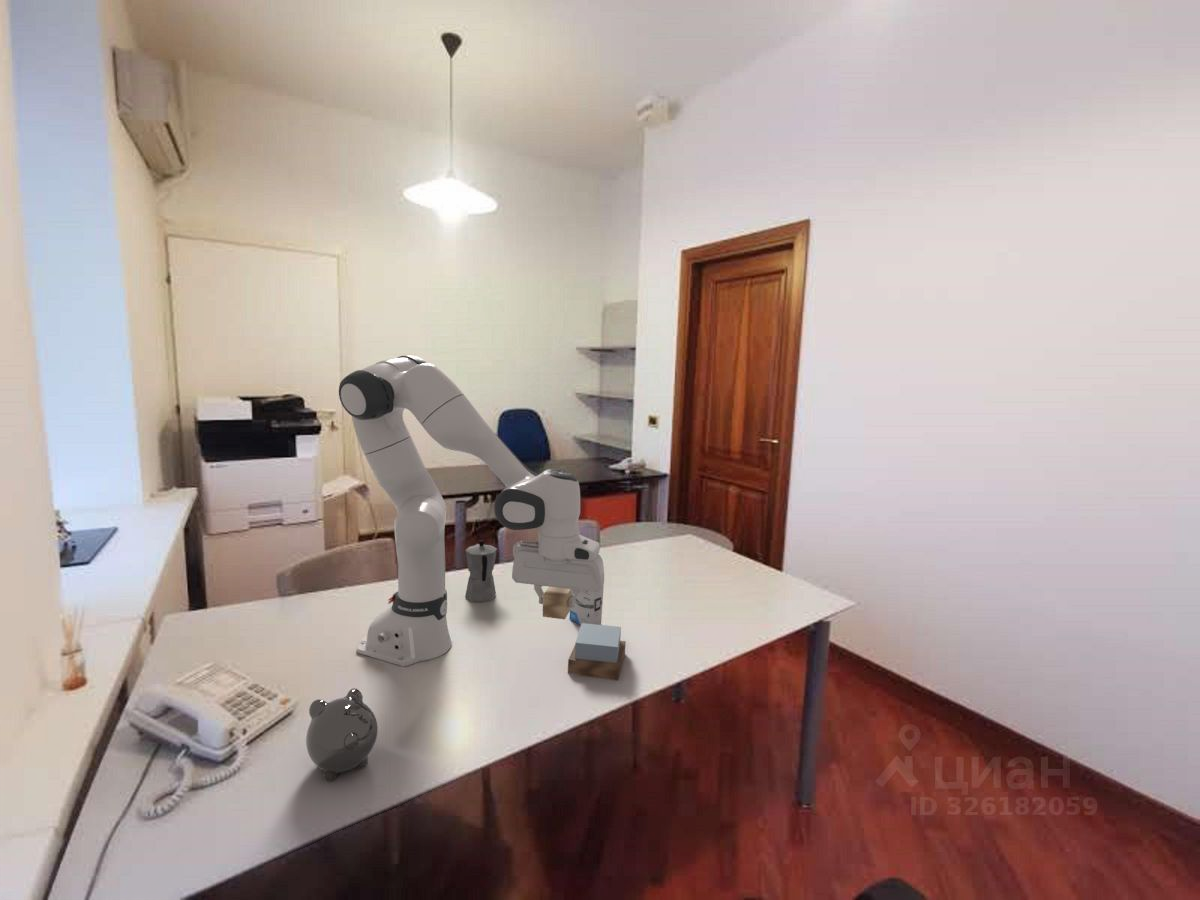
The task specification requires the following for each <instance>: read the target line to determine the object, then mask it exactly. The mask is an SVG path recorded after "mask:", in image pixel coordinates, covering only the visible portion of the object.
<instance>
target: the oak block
mask: <svg viewBox="0 0 1200 900" xmlns="http://www.w3.org/2000/svg"><path fill="white" fill-rule="evenodd" d="M569 597H571V589H566V588H558V587H549V586H547V589H546V590H545V592H544V594H543V604H542V617H544V618H550V619H557V620H566V618H567V617H568V616H569V614H570V610H571V607H567V604H568V603H567V600H568V599H569Z"/></svg>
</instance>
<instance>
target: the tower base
mask: <svg viewBox="0 0 1200 900" xmlns="http://www.w3.org/2000/svg"><path fill="white" fill-rule="evenodd" d="M626 643H627V642H626V640H620V646H619V653H618V659H617V663H612V662H603V661H594V660H584V659H575V645H574V646H573V648H572V651H571V652H570V655H569V657H568V659H567V661H568V662H567V663H568V664H567V674H569V675H570V674H571V675H578V676H584V677H592V678H596V679H597V678H598V679H603V680H609V681H610V680H612V681H617V682H618V681H619V679H620V675H621V670H622V667H623V665H624V659H625V657H626Z"/></svg>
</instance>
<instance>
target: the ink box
mask: <svg viewBox="0 0 1200 900" xmlns="http://www.w3.org/2000/svg"><path fill="white" fill-rule="evenodd" d="M604 588H605V587H604V585H603V587H602V589H601V590H600V591H599V592H591V591H583V590H581V591H580V593H579V595H578V596H577V598H576V603H575V607H574V608H571V610H570V611H569V620H570V621H573V622H574V623H577V624H578V625H580V626H581V623H587V624H597V625H602V618H603V617H602V615H603V599H604ZM574 595H575V594H573V589H571V597H573V596H574Z"/></svg>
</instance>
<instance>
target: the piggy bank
mask: <svg viewBox="0 0 1200 900" xmlns="http://www.w3.org/2000/svg"><path fill="white" fill-rule="evenodd" d="M363 697H364V695H363V694H362V692H361V691H360V689H358V688H355V687H353V688H351V689H349V691H348V692H347V694H346V695H345V696H344V697H340V698H339V697H338V698H335V699H332V700H331V701H329V702H327V701H326V700H324V699H319V698H318V699H315V700H313V701H312V702H311V704H310V706H309V709H308V714H309V717H310V719H311V720H310V723H309V726H308V727H307V731H306V736H305V745H306V751H307V753H308V756H309V758H310V760H311V761H312V763H313V764H314V765H315V766H317V767H318V768H320V769H321V770H322V772H323V779H324V781H325V782H332V781H334V780H335V779H336V778H337V775H338V773H343V772H347V771H350V770H353V769H354V768H356V767H357V768H358V769H360V770H361V769H365V768H366V767H367V766H368V764H369V755H370V753H371V752H372V750H373V749H374V747H375V744H376V741H377V739H378V732H379V731H378V730H379V729H378V728H379V727H378V721H377V718H376V715H375V713H374V712H373V711H372V709H371V708H370V707H369V706H368V705H367V704H366V703H365V702H364V700H363V699H364V698H363Z"/></svg>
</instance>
